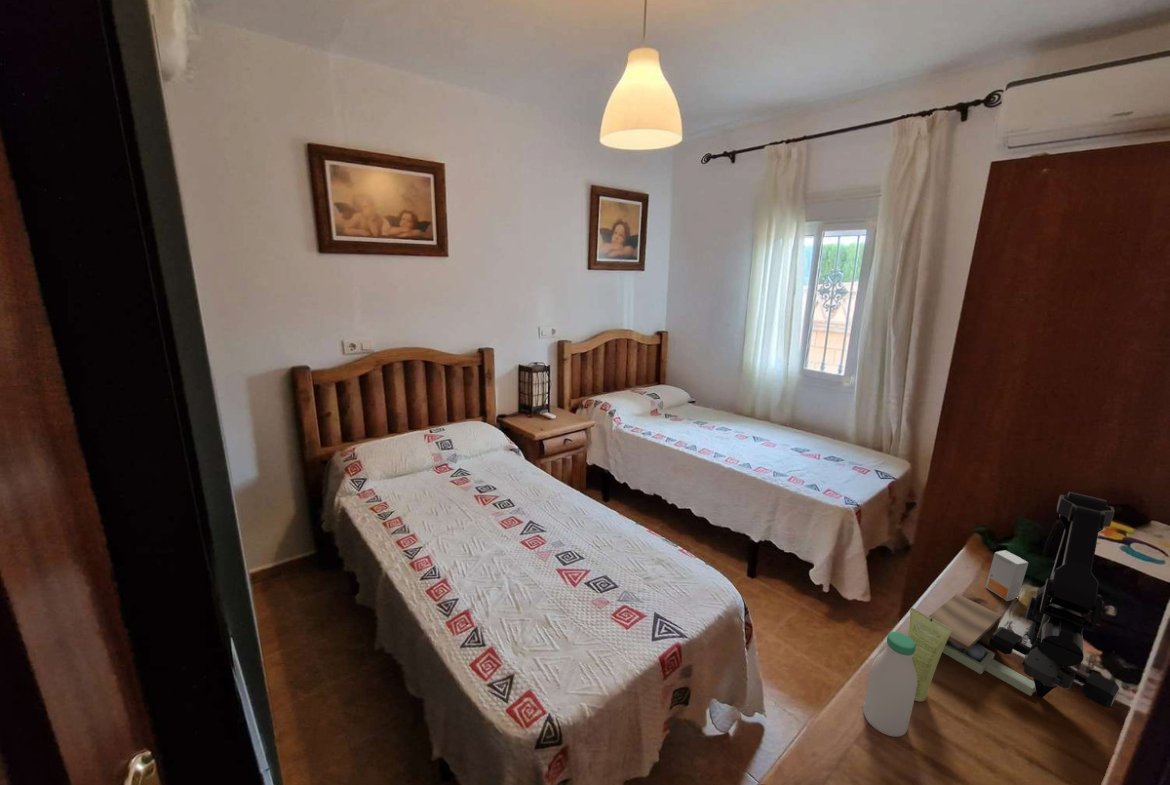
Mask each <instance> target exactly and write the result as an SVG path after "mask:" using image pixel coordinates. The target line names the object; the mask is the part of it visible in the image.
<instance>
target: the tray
mask: <svg viewBox="0 0 1170 785" xmlns="http://www.w3.org/2000/svg"><path fill="white" fill-rule="evenodd" d="M948 642H949V640H947V642H946V644H945V647H944V649H943V651H942V653H943V654H945V655H947V656H948V657H949V658H952V659H953V660H955V661H957V662H958V663H960V664H962V665H964V666H965V667H967V668H969V669H970V670H972V671H974V672H976V673H977V674H979V675H982V674H983V673H984V672H987V673H989V674H991V675H993V676H994V677H996V678H998V679H999V680H1002V681H1003V682H1005V683H1007V684H1008V685H1011V686H1012V687H1014V688H1016V689H1017V690H1018V691H1021V692H1023V693H1024V694H1025V695H1028V696H1029V697H1032V695H1033V694H1034V693H1035V691H1036V687H1035V683H1034V680H1031V679H1030V678H1029V677H1026V676H1025V675H1023V674H1020V673H1019V672H1017V671H1016V670H1013V669H1012V668H1009V667H1008V666H1007V665H1004V664H1002V663H1000V662H999V661H997V660H996V659H994V658H995V655H996V653H995V652H993V651H992V650H990V649H987V648H985V647H984V648H985V653H984V656H983V660H982V661H981V662H978V661H976V660H974V659H972V658H971V657H969V656H967V655H966V651H967V650H966V649H964V651H963V653H962V652H960V651H958V650H956V649H955V648H953V647H951V646H949V645H948Z"/></svg>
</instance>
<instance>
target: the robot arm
mask: <svg viewBox="0 0 1170 785" xmlns="http://www.w3.org/2000/svg"><path fill="white" fill-rule="evenodd" d="M1057 501H1058V502H1057V506H1056V513H1057V514H1059V515H1058V516H1059V520H1060V522H1061V524H1062V526H1063V528H1064V531H1063V532H1062V533H1063V534H1062V537H1061V540H1060V544H1059V547H1058V550H1057V553H1056V557H1055V560H1054V565H1053V567H1052V571H1051V575H1050V578H1048V577H1047V578H1046V580H1045V584H1044V585H1043V586H1042V587H1039V588H1038V589H1036V590H1037V591H1036V594H1035V597H1033V596H1031V597H1030V599H1029V600H1028V603H1027V609H1026V612H1025V620H1027V621H1030V626H1029V630H1028V631H1027V632H1026V633H1025V634H1024V636H1027V638H1028V639H1029V640H1030V641H1029V643H1030V645H1031V646H1028V645H1027V644H1024V643H1022V642H1023V636H1022V635H1019V634H1018V633H1015V632H1014V631H1011V630H1010V629H1007V628H1006V627H1004V626H1002V627H998V630H997V631H996V632H995V633H994V634H993V635H992V636H991V638H990V642H989V645H990V646H991V648H992V649H994V650H996V651H999V652H1000V653H1002V654H1003V655H1012V653H1013V650H1014V651H1016V652H1018V653H1019V654H1021V655H1024V660H1023V661H1022V663H1021V664H1022V667H1023V673H1024V674H1025V675H1027V676H1028V677H1030V678H1032V679H1033V681H1034V683H1035V687H1036V689H1035V691H1036V695H1037V697H1038V698H1040V699H1043V698H1044V697H1045V696H1046V695H1047V694H1048V693H1050V692H1051V691H1052V690H1053V689H1055V688H1058V687H1060V688H1062V689H1065V690H1067V689H1068V690H1069V689H1070V688H1071V686H1072V685H1073V683H1076V684H1079V685H1080V686H1083V687H1082V689H1081V693H1082V694H1083V695H1084V696H1085V698H1087V699H1088V700H1091V701H1092V702H1095V703H1096V704H1098V705H1100V706H1102V707H1103V708H1108V709H1111V707H1112V705H1113V703H1114V702H1115V700H1116V698H1117V697H1118V694H1119V692H1120V687H1119V685H1118V683H1117V682H1115V681H1112V680H1111V679H1109V678H1106V677H1104V676H1103V675H1101V674H1098V673H1096V672H1095V671H1091V672H1090V674H1089V675H1088V676H1087V675H1085V674H1084V673H1081V672H1079V671H1078V669H1077V667H1075V666H1079V665H1081V663H1082V662H1083V660H1084V657H1085V656H1084V655H1085V654H1084V637H1083V630H1085V631H1089V632H1091V633H1096V632H1095V631H1096V627H1097V626H1098V627H1100V626H1101V625H1102V619H1103V615H1104V608H1105V602H1104V601H1103V597H1102V595H1100V594H1098V593H1099V586H1100V584H1099V581H1098V580H1097V578H1096V577H1095V575H1094V574H1093V565H1094V560H1095V554H1096V548H1097V542H1098V537H1099V533H1100V532H1101V531H1103V530H1104V528H1107V527H1111V524H1112V521H1113V518H1114V516H1115V508H1114V506H1110V505H1108V504H1107V503H1108V502H1107V500H1106V499H1102V498H1098V497H1094V496H1089V495H1085V494H1081V493H1076V492H1072V491H1068V493H1067V494H1060V495H1059V497H1058V500H1057ZM1090 613H1091V618H1090V619H1088V618H1087V617H1083V615H1084V616H1088V615H1089V614H1090ZM989 645H988V646H989ZM990 646H989V647H990Z"/></svg>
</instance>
